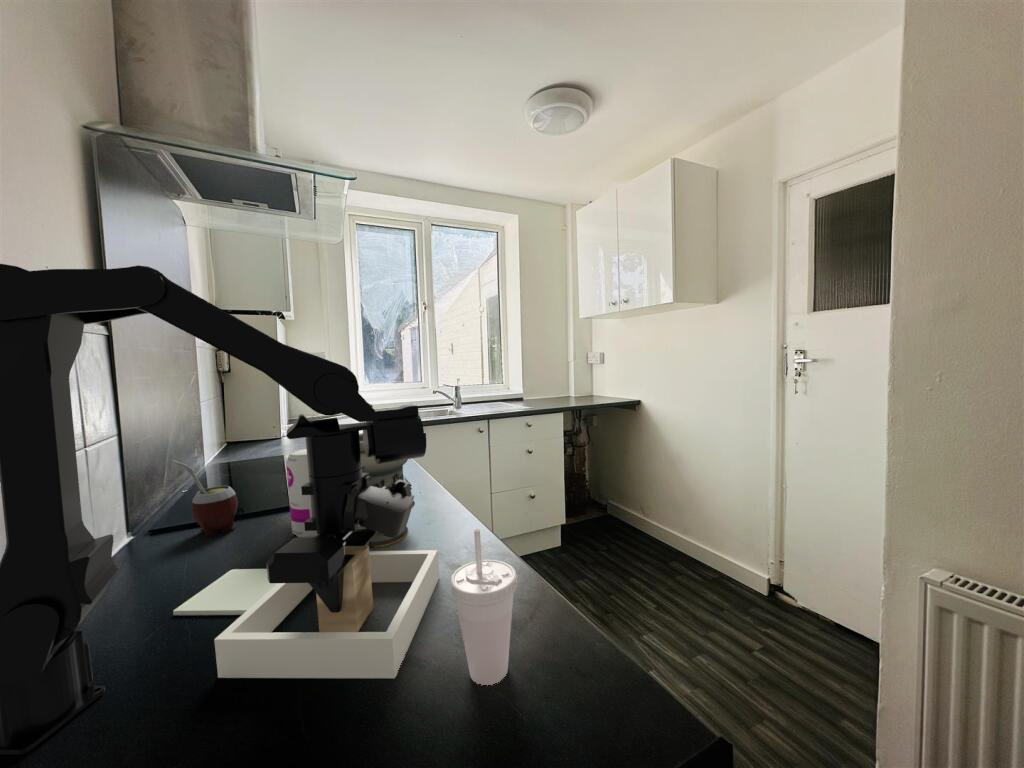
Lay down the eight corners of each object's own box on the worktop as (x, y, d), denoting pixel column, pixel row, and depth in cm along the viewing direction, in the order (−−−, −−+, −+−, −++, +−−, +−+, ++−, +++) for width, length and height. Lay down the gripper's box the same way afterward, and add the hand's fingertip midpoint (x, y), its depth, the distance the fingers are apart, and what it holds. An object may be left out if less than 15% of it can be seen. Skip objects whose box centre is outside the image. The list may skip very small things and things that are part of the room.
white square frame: (395, 678, 40) (392, 638, 40) (218, 677, 41) (214, 639, 41) (439, 577, 58) (437, 550, 58) (315, 579, 59) (312, 552, 59)
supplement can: (287, 543, 71) (280, 458, 70) (298, 524, 79) (291, 448, 78) (337, 535, 74) (331, 452, 73) (343, 518, 82) (337, 443, 80)
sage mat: (249, 614, 51) (249, 610, 51) (173, 615, 52) (173, 610, 52) (296, 572, 61) (296, 568, 61) (232, 573, 62) (231, 569, 62)
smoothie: (487, 639, 45) (480, 513, 44) (534, 665, 41) (528, 527, 40) (441, 676, 40) (433, 535, 39) (491, 710, 36) (482, 554, 35)
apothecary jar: (331, 554, 66) (322, 444, 65) (356, 524, 78) (349, 430, 77) (406, 549, 67) (399, 440, 66) (420, 520, 79) (414, 427, 78)
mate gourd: (248, 523, 82) (241, 448, 81) (219, 541, 74) (210, 458, 73) (211, 524, 82) (203, 449, 81) (178, 542, 74) (169, 460, 73)
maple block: (357, 632, 47) (352, 564, 46) (319, 632, 47) (313, 564, 47) (373, 607, 52) (368, 545, 51) (338, 608, 52) (333, 546, 51)
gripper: (371, 496, 38) (382, 656, 39) (425, 450, 57) (432, 559, 58) (256, 499, 39) (270, 656, 40) (346, 452, 58) (355, 560, 59)
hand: (345, 599), depth 49 cm, fingers closed on maple block, 4 cm apart
